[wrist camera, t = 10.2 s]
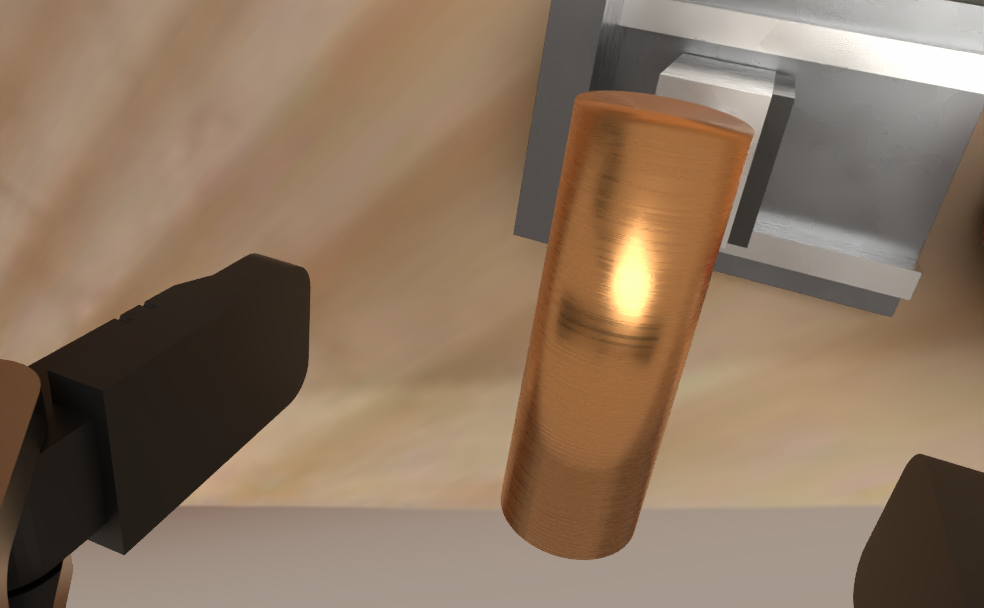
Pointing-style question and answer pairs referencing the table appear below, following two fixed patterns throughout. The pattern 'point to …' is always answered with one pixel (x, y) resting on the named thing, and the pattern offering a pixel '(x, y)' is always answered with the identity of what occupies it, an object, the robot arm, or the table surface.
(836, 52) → the grey angular pieces
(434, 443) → the table surface
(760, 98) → the slider handle
